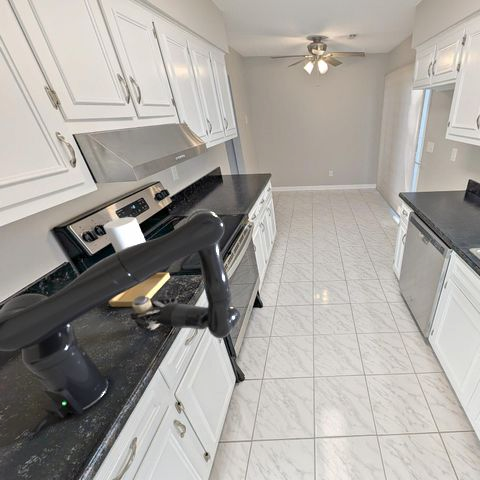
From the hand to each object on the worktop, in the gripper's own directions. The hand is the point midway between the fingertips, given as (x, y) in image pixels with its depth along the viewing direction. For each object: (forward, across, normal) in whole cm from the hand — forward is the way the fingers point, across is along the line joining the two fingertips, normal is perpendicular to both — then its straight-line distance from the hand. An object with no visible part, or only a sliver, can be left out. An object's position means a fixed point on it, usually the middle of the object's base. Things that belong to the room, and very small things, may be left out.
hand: (138, 309), depth 88 cm
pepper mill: (-3, 0, +7) cm, 7 cm away
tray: (+19, -18, +8) cm, 27 cm away
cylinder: (+36, -34, +8) cm, 50 cm away
